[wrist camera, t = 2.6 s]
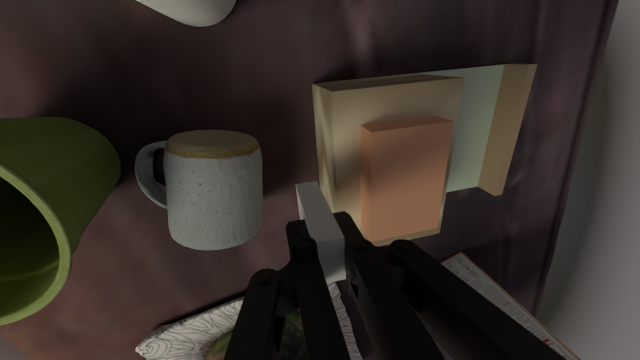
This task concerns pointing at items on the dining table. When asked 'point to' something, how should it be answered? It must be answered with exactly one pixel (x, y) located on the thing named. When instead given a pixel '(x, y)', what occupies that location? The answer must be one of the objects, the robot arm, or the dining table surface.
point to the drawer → (487, 124)
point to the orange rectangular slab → (403, 175)
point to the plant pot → (47, 204)
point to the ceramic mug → (207, 187)
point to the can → (193, 10)
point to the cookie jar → (216, 329)
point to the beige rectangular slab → (369, 108)
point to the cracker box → (503, 300)
